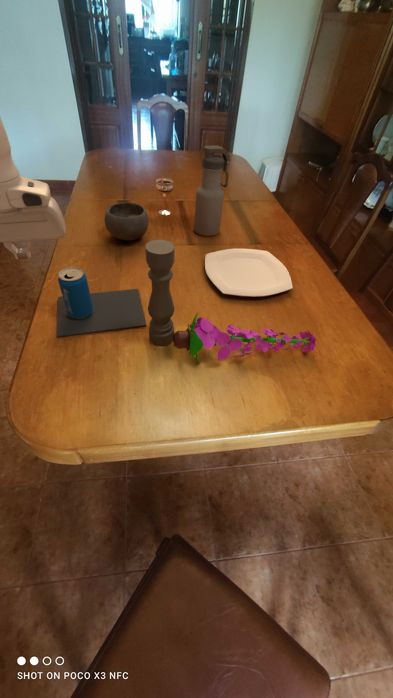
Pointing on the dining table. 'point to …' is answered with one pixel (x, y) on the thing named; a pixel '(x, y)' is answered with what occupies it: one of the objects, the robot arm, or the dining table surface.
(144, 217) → the bowl
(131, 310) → the mat
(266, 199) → the dining table surface
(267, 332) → the potted plant
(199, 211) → the water bottle
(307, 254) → the dining table surface
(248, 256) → the plate
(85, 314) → the beverage can
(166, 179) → the wineglass
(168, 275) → the candle holder
